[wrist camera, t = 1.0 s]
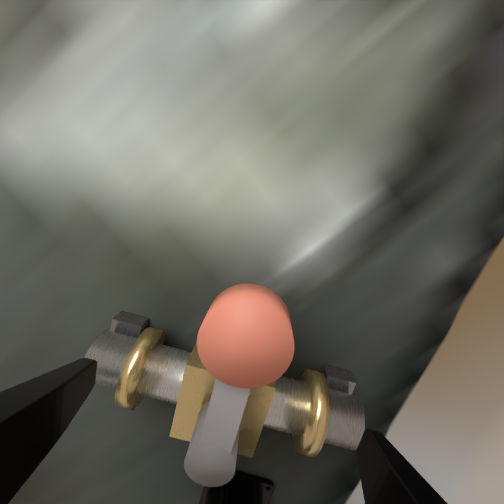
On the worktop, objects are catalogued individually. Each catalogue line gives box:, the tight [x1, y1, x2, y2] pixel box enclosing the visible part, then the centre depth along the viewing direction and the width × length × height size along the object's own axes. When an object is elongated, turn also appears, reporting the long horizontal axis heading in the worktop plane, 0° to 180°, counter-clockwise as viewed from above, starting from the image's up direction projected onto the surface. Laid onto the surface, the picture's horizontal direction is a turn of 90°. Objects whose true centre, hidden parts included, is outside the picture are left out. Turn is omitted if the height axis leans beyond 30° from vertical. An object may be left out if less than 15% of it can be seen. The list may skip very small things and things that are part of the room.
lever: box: [184, 284, 294, 487], centre depth 14 cm, size 12×4×4 cm, turn 165°
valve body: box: [85, 311, 365, 458], centre depth 20 cm, size 20×6×6 cm, turn 75°
